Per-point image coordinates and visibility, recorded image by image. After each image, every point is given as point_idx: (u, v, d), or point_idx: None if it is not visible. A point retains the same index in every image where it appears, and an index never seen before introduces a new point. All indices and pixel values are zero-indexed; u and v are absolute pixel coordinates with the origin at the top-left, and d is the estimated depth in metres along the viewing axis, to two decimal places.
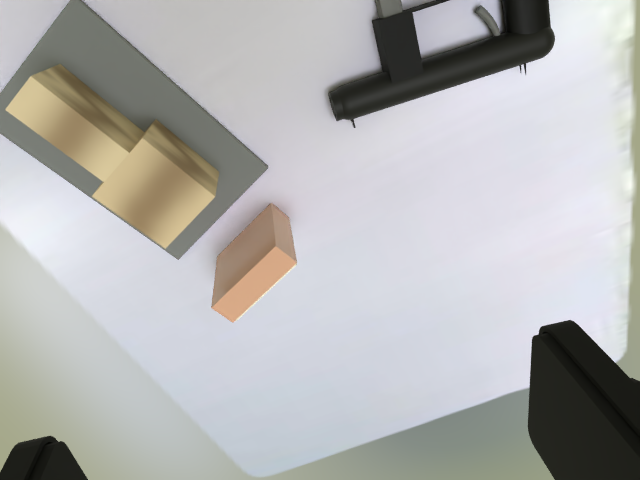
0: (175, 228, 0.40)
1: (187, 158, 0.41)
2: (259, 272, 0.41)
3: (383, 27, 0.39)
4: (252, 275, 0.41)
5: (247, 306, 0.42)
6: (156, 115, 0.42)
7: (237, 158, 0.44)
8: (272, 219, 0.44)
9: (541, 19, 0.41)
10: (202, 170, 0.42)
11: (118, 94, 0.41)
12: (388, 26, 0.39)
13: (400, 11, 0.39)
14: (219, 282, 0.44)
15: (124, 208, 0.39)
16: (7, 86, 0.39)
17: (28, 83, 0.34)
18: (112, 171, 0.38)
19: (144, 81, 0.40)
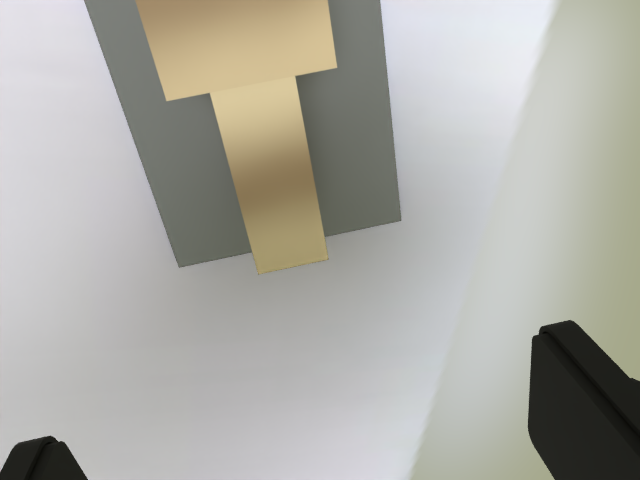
0: None
1: None
2: None
3: None
4: None
5: None
6: None
7: None
8: None
9: None
10: None
11: (213, 142, 0.25)
12: None
13: None
14: None
15: (304, 0, 0.17)
16: (337, 232, 0.28)
17: (269, 268, 0.22)
18: (264, 83, 0.18)
19: (163, 135, 0.24)
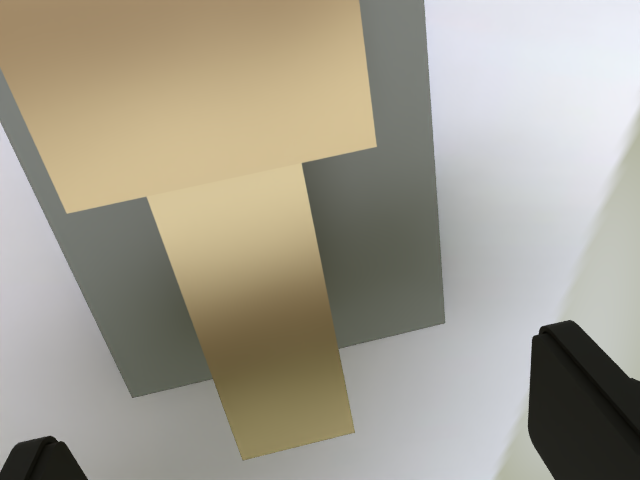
0: None
1: None
2: None
3: None
4: None
5: None
6: None
7: None
8: None
9: None
10: None
11: None
12: None
13: None
14: None
15: (318, 29, 0.09)
16: (356, 342, 0.20)
17: (260, 451, 0.13)
18: (246, 177, 0.10)
19: (98, 224, 0.16)
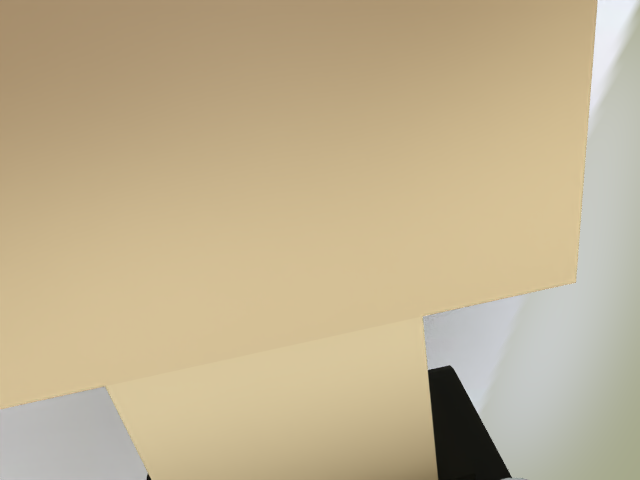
0: None
1: None
2: None
3: None
4: None
5: None
6: None
7: None
8: None
9: None
10: None
11: None
12: None
13: None
14: None
15: (495, 46, 0.04)
16: None
17: None
18: (309, 345, 0.05)
19: None
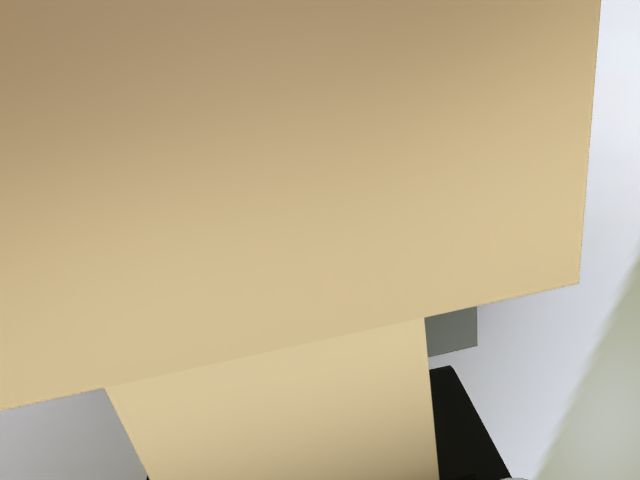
0: None
1: None
2: None
3: None
4: None
5: None
6: None
7: None
8: None
9: None
10: None
11: None
12: None
13: None
14: None
15: (498, 45, 0.04)
16: None
17: None
18: (310, 346, 0.05)
19: None
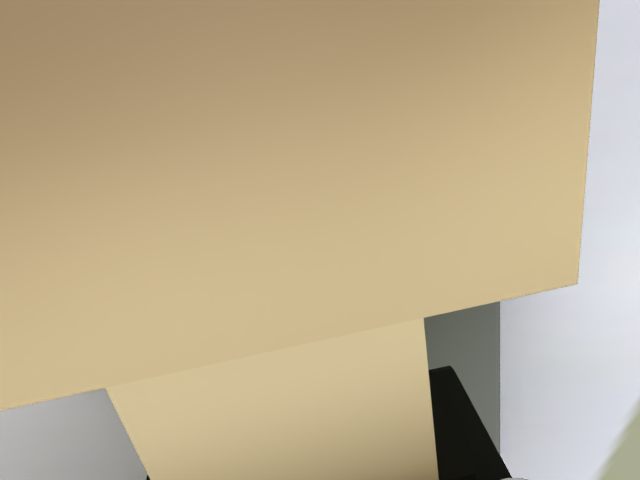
0: None
1: None
2: None
3: None
4: None
5: None
6: None
7: None
8: None
9: None
10: None
11: None
12: None
13: None
14: None
15: (497, 46, 0.04)
16: None
17: None
18: (310, 346, 0.05)
19: None
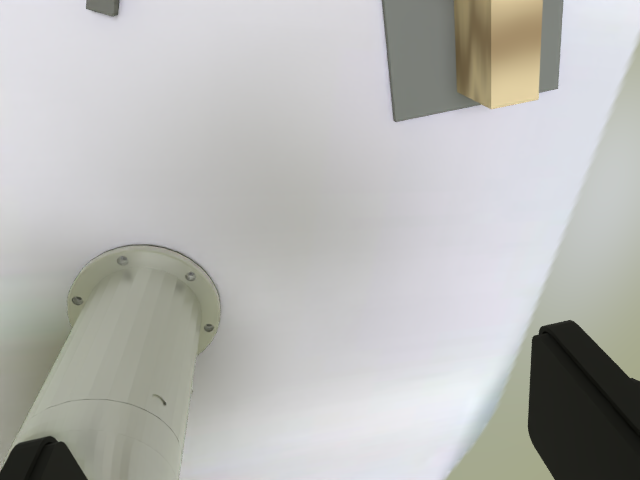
0: None
1: None
2: None
3: None
4: None
5: None
6: None
7: None
8: None
9: None
10: None
11: (438, 20, 0.35)
12: None
13: None
14: None
15: None
16: None
17: (499, 105, 0.32)
18: None
19: (406, 13, 0.34)
